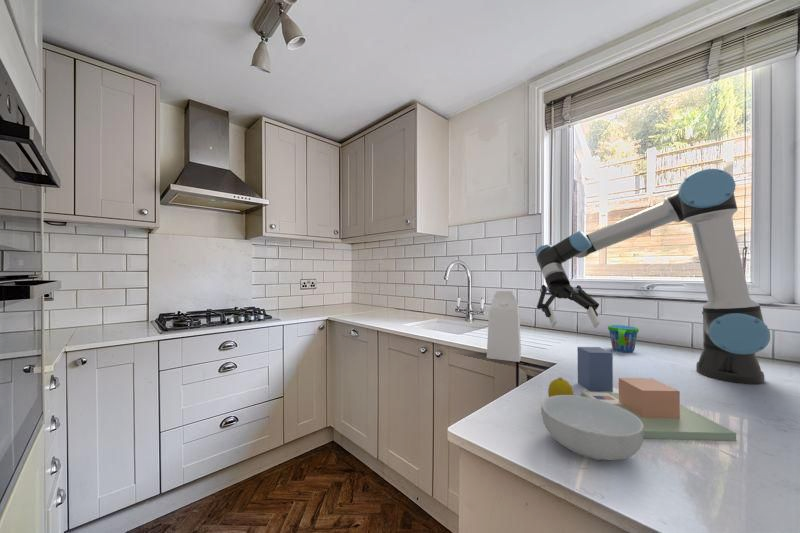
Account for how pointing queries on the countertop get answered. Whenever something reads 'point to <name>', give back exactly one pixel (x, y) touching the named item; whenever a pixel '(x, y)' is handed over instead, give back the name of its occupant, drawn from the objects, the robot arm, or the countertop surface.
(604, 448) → the cereal bowl
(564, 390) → the lemon
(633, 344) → the snack cup
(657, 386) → the baseplate tower
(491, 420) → the countertop surface
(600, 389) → the navy brick
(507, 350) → the milk
